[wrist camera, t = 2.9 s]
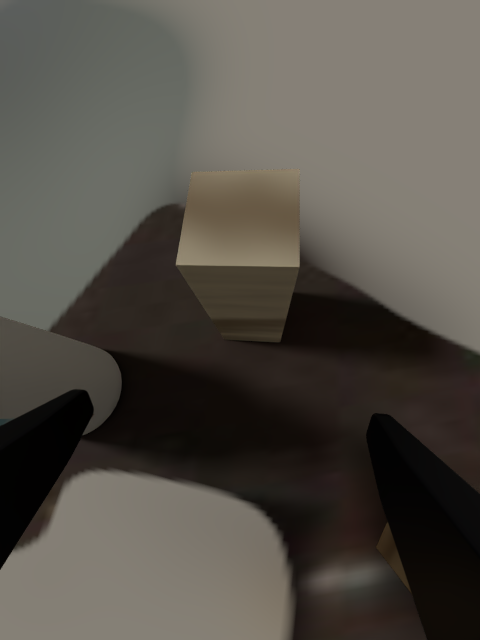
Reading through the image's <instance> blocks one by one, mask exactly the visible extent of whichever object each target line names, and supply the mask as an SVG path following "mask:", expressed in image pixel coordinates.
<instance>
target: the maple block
mask: <svg viewBox="0 0 480 640" xmlns="http://www.w3.org/2000/svg"><path fill="white" fill-rule="evenodd" d="M299 172H300V171H299V169H281V170H246V171H214V172H212V171H211V172H192V175H191V180H190V186H189V192H188V198H187V203H186V209H185V215H184V221H183V226H182V232H181V238H180V244H179V249H178V255H177V261H176V266H177V268H178V269H179V271H180V272H181V274H182V275H183V277H184V278H185V280H186V281H187V283H188V284H189V286H190V287H191V289H192V291H193V292H194V294H195V295H196V297H197V298H198V300H199V301H200V303H201V304H202V306H203V307H204V309H205V310H206V312H207V313H208V315H209V317H210V318H211V320H212V321H213V323H214V324H215V326H216V327H217V329H218V330H219V332H220V333H221V335H222V336H223V338H224V339H225V340H244V341H263V342H280V341H281V337H282V333H283V329H284V325H285V321H286V318H287V314H288V310H289V306H290V302H291V298H292V294H293V290H294V286H295V282H296V278H297V275H298V271H299V184H300V183H299V182H300V181H299V180H300V179H299V177H300V176H299V175H300V173H299Z"/></svg>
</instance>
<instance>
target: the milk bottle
mask: <svg viewBox="0 0 480 640" xmlns="http://www.w3.org/2000/svg"><path fill="white" fill-rule="evenodd" d="M121 388H122V379H121V372H120V370H119V367H118V365H117V363H116V361H115V360H114V358H113V357H112V356H111V355H110V354H109V353H107V352H106V351H104V350H102V349H100V348H97V347H94V346H92V345H89V344H86V343H83V342H80V341H76V340H73V339H70V338H67V337H64V336H61V335H58V334H55V333H52V332H49V331H45V330H42V329H39V328H36V327H32V326H29V325H26V324H23V323H19V322H17V321H13V320H10V319H7V318H3V317H0V426H1V425H3V424H5V423H7V422H9V421H11V420H13V419H15V418H17V417H19V416H21V415H23V414H25V413H27V412H29V411H31V410H33V409H35V408H37V407H39V406H41V405H43V404H45V403H47V402H48V401H50V400H52V399H54V398H56V397H58V396H60V395H62V394H64V393H66V392H68V391H70V390H73V389H81V390H86V391H87V392H88V394H89V396H90V399H91V401H92V404H93V407H94V413H93V416H92V418H91V419H90V421H89V423H88V425H87V427H86V429H85V431H84V433H83V435H85V434H87V433H89V432H91V431H93V430H95V429H96V428H98V427H99V426H100V425H101V424H102V423H103V422H104V421H105V420H106V419H107V418H108V417H109V416H110V415H111V413H112V412H113V410H114V409H115V407H116V405H117V402H118V400H119V398H120V393H121Z"/></svg>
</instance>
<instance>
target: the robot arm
mask: <svg viewBox="0 0 480 640" xmlns="http://www.w3.org/2000/svg"><path fill="white" fill-rule="evenodd" d="M93 413H94V407H93V404H92V401H91V399H90V396H89V394H88V392H87V391H86V390H81V389H73V390H70V391H68V392H66V393H64V394H62V395H60V396H58V397H56V398H54V399H52V400H50V401H48V402H47V403H45V404H43V405H41V406H39V407H37V408H35V409H33V410H31V411H29V412H27V413H25V414H23V415H21V416H19V417H17V418H15V419H13V420H11V421H9V422H7V423H5V424H3V425H1V426H0V569H1V568H2V566H3V564H4V563H5V561H6V560H7V558H8V557H9V555H10V554H11V552H12V550H13V549H14V547H15V546H16V544H17V542H18V541H19V539H20V538H21V536H22V535H23V533H24V531H25V530H26V528H27V527H28V525H29V523H30V522H31V520H32V519H33V517H34V516H35V514H36V512H37V511H38V509H39V508H40V506H41V504H42V503H43V501H44V500H45V498H46V497H47V495H48V493H49V492H50V490H51V489H52V487H53V485H54V484H55V482H56V481H57V479H58V478H59V476H60V474H61V473H62V471H63V470H64V468H65V466H66V465H67V463H68V461H69V460H70V458H71V456H72V454H73V452H74V450H75V448H76V447H77V445H78V443H79V441H80V439H81V437H82V435H83V433H84V431H85V429H86V427H87V425H88V423H89V421H90V419H91V418H92V416H93ZM366 438H367V444H368V448H369V453H370V457H371V461H372V466H373V470H374V475H375V479H376V483H377V488H378V492H379V496H380V499H381V503H382V506H383V509H384V512H385V515H386V518H387V521H388V524H389V527H390V530H391V533H392V536H393V539H394V542H395V545H396V548H397V551H398V554H399V557H400V560H401V563H402V566H403V569H404V572H405V575H406V578H407V581H408V584H409V587H410V590H411V593H412V596H413V599H414V602H415V605H416V608H417V611H418V614H419V617H420V620H421V623H422V626H423V629H424V632H425V635H426V638H427V640H480V494H479V493H478V492H477V491H476V490H475V489H474V488H472V487H471V486H470V485H469V484H468V483H467V482H466V481H465V480H463V479H462V478H461V477H460V476H459V475H458V474H457V473H455V472H454V471H453V470H452V469H451V468H450V467H449V466H447V465H446V464H445V463H444V462H443V461H442V460H441V459H439V458H438V457H437V456H436V455H435V454H434V453H433V452H431V451H430V450H429V449H428V448H427V447H426V446H425V445H423V444H422V443H421V442H420V441H419V440H418V439H417V438H415V437H414V436H413V435H412V434H411V433H410V432H409V431H407V430H406V429H405V428H404V427H403V426H402V425H401V424H399V423H398V422H397V421H396V420H395V419H394V418H393V417H391V416H390V415H388V414H378V413H375V414H373V415H372V417H371V420H370V423H369V426H368V430H367V434H366Z"/></svg>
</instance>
